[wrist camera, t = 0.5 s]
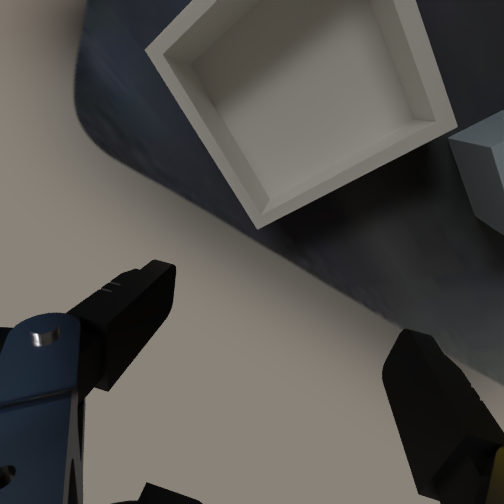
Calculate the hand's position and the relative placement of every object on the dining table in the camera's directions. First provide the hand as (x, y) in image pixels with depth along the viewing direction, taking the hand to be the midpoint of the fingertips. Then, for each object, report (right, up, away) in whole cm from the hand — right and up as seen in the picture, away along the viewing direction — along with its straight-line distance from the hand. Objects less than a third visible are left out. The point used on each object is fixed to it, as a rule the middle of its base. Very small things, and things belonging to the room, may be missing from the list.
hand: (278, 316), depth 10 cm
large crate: (+3, +17, +15) cm, 22 cm away
